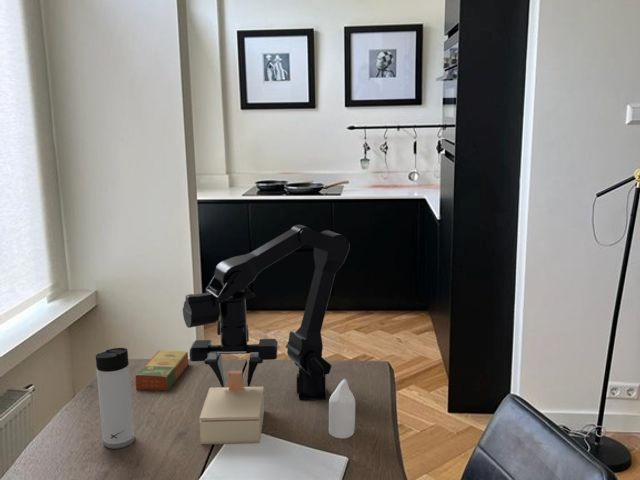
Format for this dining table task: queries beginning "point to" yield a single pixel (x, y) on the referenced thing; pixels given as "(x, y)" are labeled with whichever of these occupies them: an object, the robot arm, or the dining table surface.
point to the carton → (162, 370)
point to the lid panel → (233, 401)
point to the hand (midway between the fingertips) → (236, 386)
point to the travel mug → (115, 398)
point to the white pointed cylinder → (342, 412)
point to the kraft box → (232, 430)
